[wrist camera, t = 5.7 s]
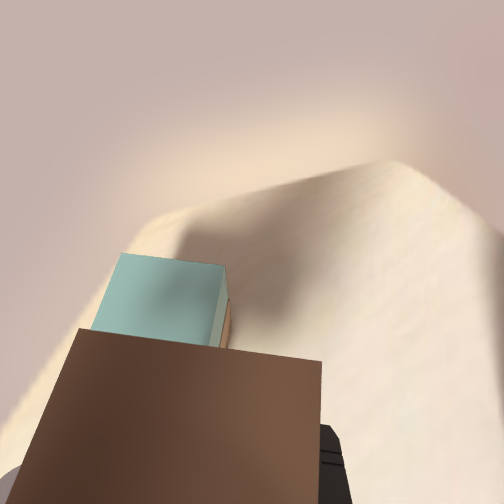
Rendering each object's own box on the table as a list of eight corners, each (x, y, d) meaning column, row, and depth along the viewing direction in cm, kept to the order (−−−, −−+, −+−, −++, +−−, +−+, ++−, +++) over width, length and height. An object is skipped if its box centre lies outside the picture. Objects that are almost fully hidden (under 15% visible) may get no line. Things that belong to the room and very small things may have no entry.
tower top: (228, 298, 27) (224, 265, 22) (210, 393, 23) (202, 375, 19) (140, 286, 27) (121, 252, 23) (109, 378, 23) (79, 357, 19)
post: (282, 420, 15) (322, 361, 7) (270, 570, 13) (310, 783, 4) (172, 404, 16) (79, 328, 7) (138, 546, 13) (-77, 696, 4)
